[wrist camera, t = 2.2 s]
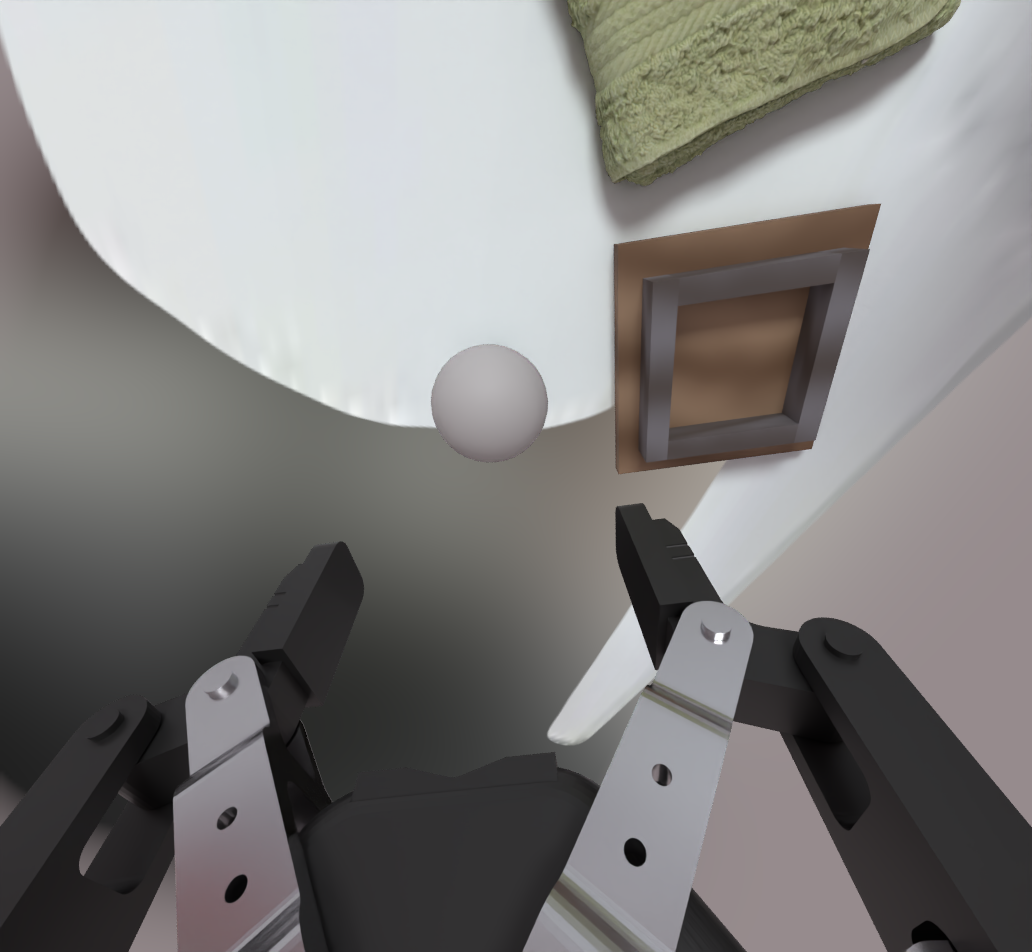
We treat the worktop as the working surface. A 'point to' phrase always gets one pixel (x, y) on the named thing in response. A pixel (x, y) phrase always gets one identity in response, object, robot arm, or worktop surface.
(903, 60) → the worktop surface
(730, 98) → the washcloth
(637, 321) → the socket stand
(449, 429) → the lightbulb
